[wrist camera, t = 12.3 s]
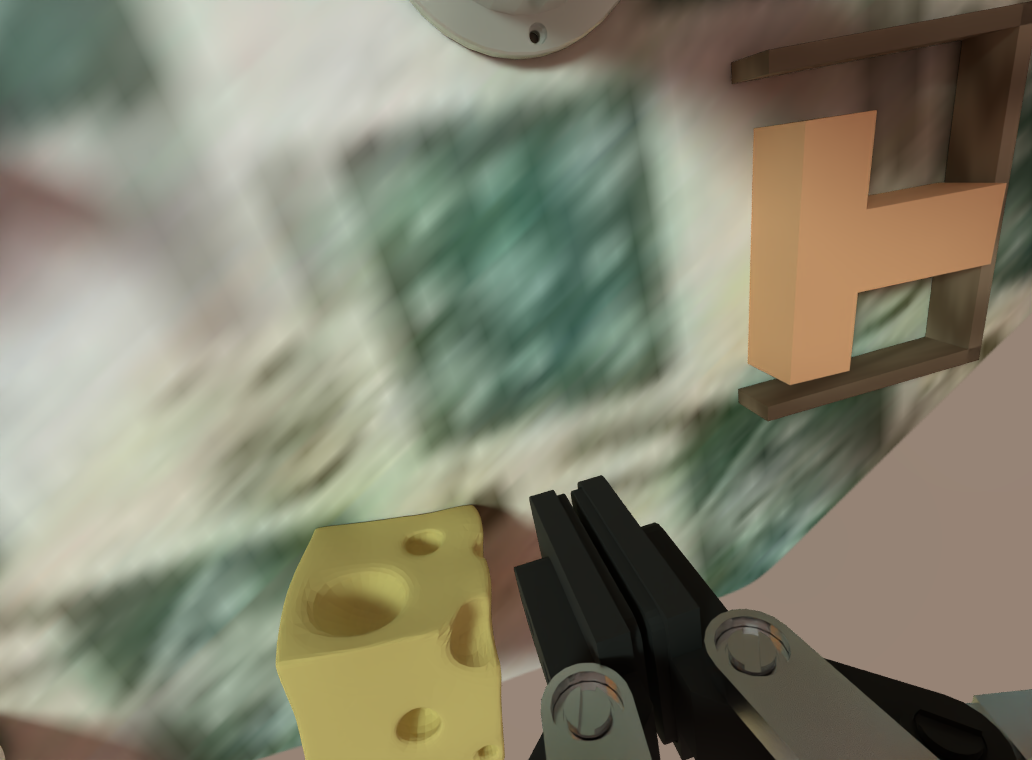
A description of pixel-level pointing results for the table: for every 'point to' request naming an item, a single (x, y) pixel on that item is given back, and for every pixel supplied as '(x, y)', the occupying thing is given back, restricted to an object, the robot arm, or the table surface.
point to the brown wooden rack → (971, 159)
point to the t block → (844, 240)
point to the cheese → (394, 642)
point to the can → (2, 754)
